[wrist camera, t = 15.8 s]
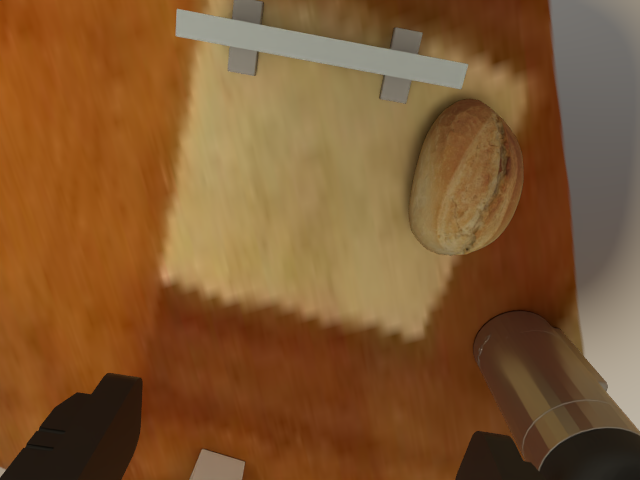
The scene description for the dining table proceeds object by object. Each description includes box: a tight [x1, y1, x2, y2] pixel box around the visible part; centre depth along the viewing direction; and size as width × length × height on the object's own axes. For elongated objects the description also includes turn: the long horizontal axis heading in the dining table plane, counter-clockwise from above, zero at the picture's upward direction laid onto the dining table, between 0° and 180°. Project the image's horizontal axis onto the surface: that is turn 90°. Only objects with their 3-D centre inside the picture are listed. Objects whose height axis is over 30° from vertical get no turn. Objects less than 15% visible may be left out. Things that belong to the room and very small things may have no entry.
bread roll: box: [409, 99, 523, 256], centre depth 41 cm, size 10×15×8 cm, turn 176°
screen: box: [176, 0, 468, 104], centre depth 34 cm, size 18×6×14 cm, turn 80°
